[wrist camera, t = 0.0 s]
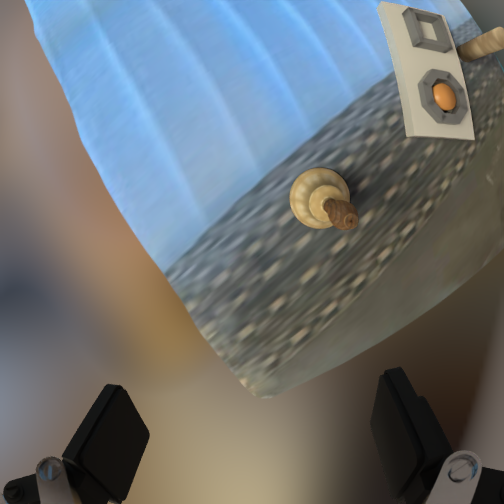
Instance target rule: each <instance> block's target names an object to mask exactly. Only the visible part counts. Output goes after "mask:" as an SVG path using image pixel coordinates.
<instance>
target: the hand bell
mask: <svg viewBox="0 0 504 504" xmlns="http://www.w3.org/2000/svg"><path fill="white" fill-rule="evenodd" d="M349 202H350V194H349V190H348V187H347V185H346V183H345V181H344V180H343V178H342V177H341V176H340V175H339V174H337V173H336V172H334V171H332V170H330V169H326V168H313V169H309V170H307V171H305V172H303V173H302V174H301V175H300V176H299V177H298V178H297V179H296V180H295V181H294V183H293V185H292V187H291V190H290V206H291V209H292V211H293V213H294V215H295V216H296V218H297V219H298V220H299V221H300V222H302V223H303V224H304V225H306V226H308V227H311V228H316V229H323V228H328V227H331V226H333V225H334V226H335V227H337V228H338V229H341V230H349V229H353V228H355V227H356V226H357V225H358V221H359V219H358V212H357V210H356V208H355V207H354V206H353V205H352V204H351V203H349Z"/></svg>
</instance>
